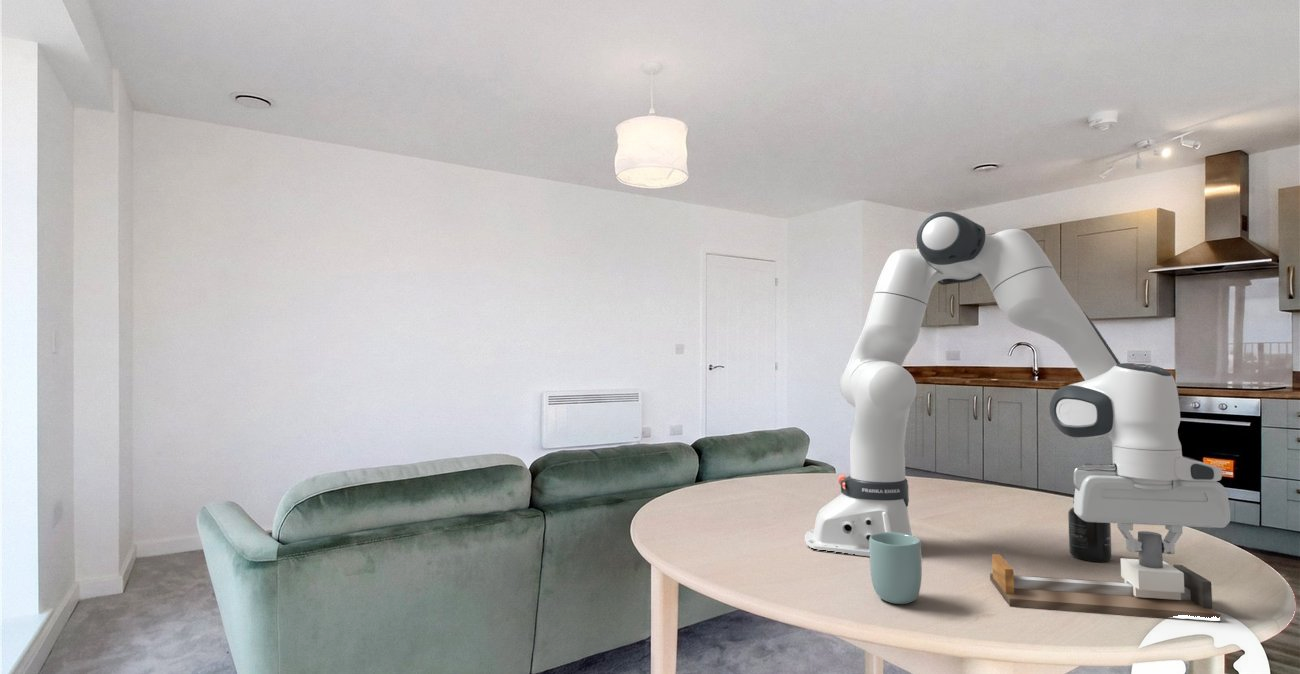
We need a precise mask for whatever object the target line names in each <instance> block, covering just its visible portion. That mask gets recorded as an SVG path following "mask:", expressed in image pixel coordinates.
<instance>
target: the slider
mask: <svg viewBox="0 0 1300 674" xmlns="http://www.w3.org/2000/svg"><path fill="white" fill-rule="evenodd" d="M1162 537H1163V535H1162V534H1161V533H1158V532H1154V531H1148V530H1145V531H1143V530H1142V531H1141V530H1139V531H1137V539H1138V540H1139V541H1141V542H1142V546H1141V548H1142V552H1138V559H1136V558H1123V557H1122V558H1120V577H1121V578H1122V579H1123V582H1125V583H1130V584H1132V585H1133V594H1134V596H1136V597H1145V598H1159V599H1174V600H1181V593H1185V592H1184V573H1183V572H1181V571H1179V570H1178V569H1176V568H1174V567H1173V565H1171V564H1170V563H1167V562H1166V561H1164V560H1163V559H1164V558H1163V555H1164V554H1163V553H1162V540H1163V539H1162Z"/></svg>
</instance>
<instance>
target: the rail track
mask: <svg viewBox="0 0 1300 674" xmlns="http://www.w3.org/2000/svg"><path fill="white" fill-rule="evenodd" d="M991 561H992V563H991V564H992V573H989V581H990V582H991V584H992V585H993V586H994V587H995V589H996V590H997V591H998V593H999V594H1000V595H1001V597H1002V598H1003V599H1004V601H1005V602H1006V603H1007V605H1008V606H1009V607H1015V608H1029V609H1039V610H1040V609H1042V610H1056V611H1067V612H1083V613H1096V614H1106V615H1107V614H1108V615H1121V616H1132V617H1133V616H1135V617H1147V618H1157V619H1158V618H1159V619H1161V618H1162V619H1169V618H1168V617H1173V616H1178V615H1188V616H1189V615H1190V616H1194V617H1195V616H1196V617H1197V616H1200V617H1205V618H1206V617H1207V618H1208V617H1209V618H1211V617H1213V616H1214V617H1215V616H1216V617H1217V618H1219V617H1220V616H1222V615H1221V613H1219V612H1218V611H1216V610H1215V609H1213V592H1212V591H1213V590H1212V581H1210V580H1208V579H1207V578H1205V577H1203V576H1201V575H1200V574H1198V573H1197V572H1194V571H1193V570H1191V569H1189V568H1188V567H1186V566H1184V565H1182V564H1173V565H1172V566H1173V567H1174V568H1176V569H1178V570H1179V571H1181V572H1183V573H1184V592H1185V593H1181V600H1174V599H1159V598H1145V597H1136V596H1134V594H1133V585H1132V584H1130V583H1125V582H1124V581H1111V580H1097V579H1082V578H1081V579H1080V578H1079V579H1078V578H1067V577H1066V578H1065V577H1064V578H1063V577H1050V576H1049V577H1047V576H1036V575H1035V576H1034V575H1019V574H1014V569H1013V567H1012V566H1011V565H1010V564H1009V563H1008V562H1007V560H1006V559H1004V558H1003V556H1002V555H1001V554H998V553H995V554H994V553H991Z"/></svg>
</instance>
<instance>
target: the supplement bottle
mask: <svg viewBox="0 0 1300 674" xmlns="http://www.w3.org/2000/svg"><path fill="white" fill-rule="evenodd" d="M1074 495H1075V493H1073V496H1074ZM1072 503H1073V505H1074V500H1073V501H1072ZM1067 513H1068V514H1067V515H1068V516H1067V520H1068V544H1069V545H1068V548H1069V554H1070V555H1071V557H1073V558H1076V559H1077V560H1083V561H1088V562H1094V563H1095V562H1096V563H1106V562H1109V561H1111V559H1112V558H1113V557H1112V553H1113V552H1112V534H1111V533H1112V532H1111V531H1112V529H1111V525H1112V523H1101V522H1086V521H1084V520H1082V519H1081V518H1079V517H1078V516H1077V515H1076V514H1075V512H1074V506H1073V507H1070V509H1069V510H1068V512H1067Z"/></svg>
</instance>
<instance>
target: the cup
mask: <svg viewBox="0 0 1300 674" xmlns="http://www.w3.org/2000/svg"><path fill="white" fill-rule="evenodd" d="M869 553H870V556H869V569H870V570H869V571H870V577H871V583H872V587H873V590H874V593H875V594H876V595H877V596H878V598H880V599H881V600H883V601H885V602H887V603H890V604H893V605H906V604H907V605H908V604H910V603H912V602H914V601H915V600H916V599H918V597H919V594H920V592H921V588H922V576H923V569H922V568H923V564H922V563H923V562H922V557H923V555H922V543H921V540H920V539H919V538H918V537H916V536H914V535H912V536H911V535H908V534H903V533H896V532H882V533H876V534H872V535H871V536H870V538H869Z"/></svg>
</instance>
